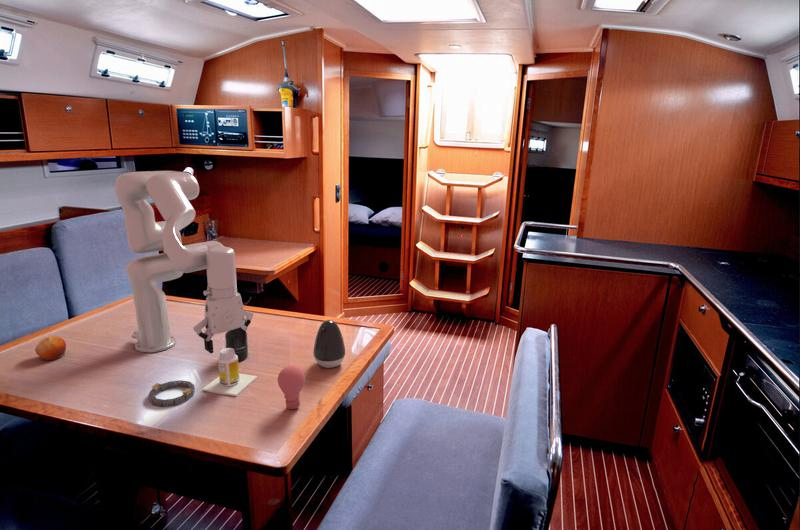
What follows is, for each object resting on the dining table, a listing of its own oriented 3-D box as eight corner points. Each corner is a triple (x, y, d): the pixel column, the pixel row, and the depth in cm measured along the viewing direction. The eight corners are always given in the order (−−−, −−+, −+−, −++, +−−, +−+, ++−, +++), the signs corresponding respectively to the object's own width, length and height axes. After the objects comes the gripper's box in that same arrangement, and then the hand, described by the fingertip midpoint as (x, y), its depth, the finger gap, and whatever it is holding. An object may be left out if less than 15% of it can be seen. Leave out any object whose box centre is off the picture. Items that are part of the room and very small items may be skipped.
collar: (139, 403, 128) (138, 395, 127) (169, 382, 138) (168, 375, 138) (175, 409, 125) (174, 401, 124) (202, 388, 136) (202, 380, 135)
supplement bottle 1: (241, 363, 151) (239, 328, 148) (222, 360, 152) (219, 326, 149) (252, 353, 158) (250, 320, 155) (233, 351, 159) (231, 318, 156)
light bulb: (281, 400, 130) (279, 361, 127) (307, 399, 131) (305, 360, 128) (277, 415, 124) (274, 374, 120) (304, 414, 124) (302, 373, 121)
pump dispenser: (307, 368, 149) (305, 324, 145) (323, 355, 158) (322, 312, 154) (336, 374, 145) (335, 329, 141) (350, 360, 155) (350, 317, 151)
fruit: (76, 351, 154) (58, 335, 149) (53, 369, 150) (34, 354, 145) (70, 343, 159) (51, 328, 154) (48, 361, 155) (28, 346, 150)
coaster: (202, 390, 134) (202, 388, 134) (225, 373, 145) (225, 371, 145) (236, 396, 132) (236, 394, 132) (257, 378, 142) (257, 376, 142)
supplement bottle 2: (241, 377, 141) (238, 346, 138) (238, 386, 136) (235, 354, 133) (221, 378, 140) (219, 347, 138) (218, 387, 135) (215, 355, 132)
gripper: (197, 301, 122) (202, 360, 127) (257, 288, 134) (259, 342, 139) (185, 294, 127) (190, 351, 132) (244, 281, 139) (247, 334, 144)
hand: (226, 346), depth 136 cm, fingers open, 9 cm apart
